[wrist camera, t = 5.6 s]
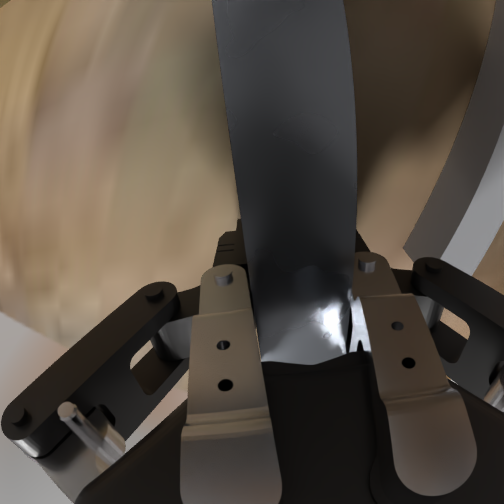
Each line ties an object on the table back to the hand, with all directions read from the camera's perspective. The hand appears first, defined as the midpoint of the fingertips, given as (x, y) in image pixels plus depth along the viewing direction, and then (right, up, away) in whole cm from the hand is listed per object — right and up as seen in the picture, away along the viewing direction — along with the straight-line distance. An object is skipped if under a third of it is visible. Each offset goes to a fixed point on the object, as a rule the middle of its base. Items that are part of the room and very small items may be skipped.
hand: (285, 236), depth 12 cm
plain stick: (+10, +8, -3) cm, 13 cm away
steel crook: (-4, +6, -3) cm, 8 cm away
